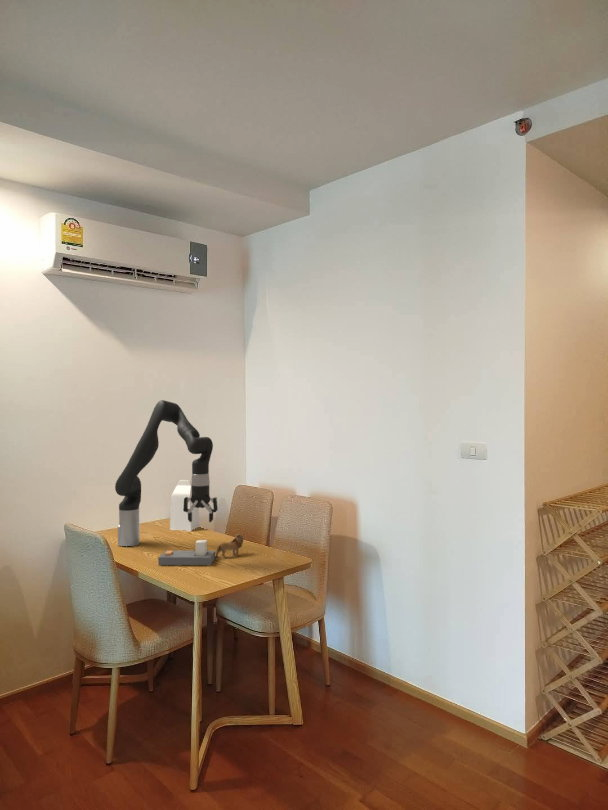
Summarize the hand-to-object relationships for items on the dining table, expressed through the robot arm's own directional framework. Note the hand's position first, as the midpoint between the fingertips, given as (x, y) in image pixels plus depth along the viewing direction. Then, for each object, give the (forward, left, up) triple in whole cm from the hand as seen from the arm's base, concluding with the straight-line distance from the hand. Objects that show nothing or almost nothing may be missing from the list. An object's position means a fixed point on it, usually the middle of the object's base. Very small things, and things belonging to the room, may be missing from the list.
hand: (200, 521), depth 230 cm
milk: (-22, +59, -18) cm, 66 cm away
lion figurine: (+11, +9, -18) cm, 23 cm away
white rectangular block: (0, 0, -18) cm, 18 cm away
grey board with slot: (-6, 0, -17) cm, 18 cm away
